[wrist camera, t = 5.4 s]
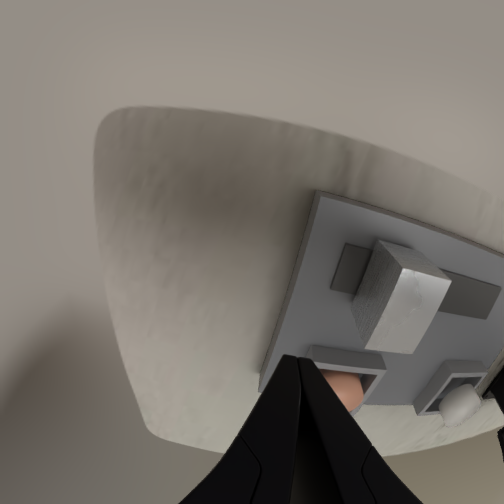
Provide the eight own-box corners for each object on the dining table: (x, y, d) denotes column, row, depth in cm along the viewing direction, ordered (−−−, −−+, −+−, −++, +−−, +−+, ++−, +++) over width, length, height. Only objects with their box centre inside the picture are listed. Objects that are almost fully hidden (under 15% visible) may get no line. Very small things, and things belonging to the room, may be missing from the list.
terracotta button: (366, 366, 17) (372, 386, 16) (346, 397, 19) (350, 417, 17) (320, 360, 17) (322, 381, 16) (303, 392, 19) (303, 413, 17)
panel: (528, 266, 16) (550, 283, 12) (456, 389, 21) (467, 412, 18) (316, 189, 16) (325, 202, 12) (259, 374, 21) (256, 407, 18)
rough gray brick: (421, 252, 14) (451, 281, 10) (392, 316, 15) (412, 354, 12) (377, 239, 14) (403, 267, 10) (350, 308, 15) (364, 348, 12)
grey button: (479, 383, 16) (488, 398, 14) (456, 409, 17) (463, 425, 15) (454, 384, 16) (463, 401, 14) (431, 412, 17) (437, 429, 15)
